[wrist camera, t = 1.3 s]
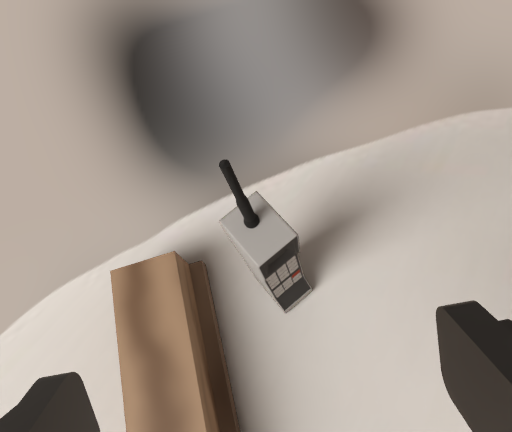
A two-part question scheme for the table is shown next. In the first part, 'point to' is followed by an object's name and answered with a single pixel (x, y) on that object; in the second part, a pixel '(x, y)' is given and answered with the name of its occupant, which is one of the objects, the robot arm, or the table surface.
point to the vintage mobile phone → (265, 244)
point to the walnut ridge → (170, 348)
